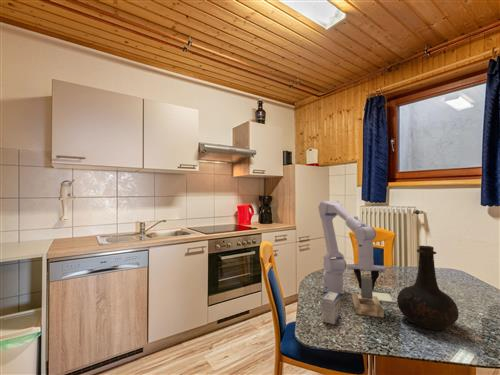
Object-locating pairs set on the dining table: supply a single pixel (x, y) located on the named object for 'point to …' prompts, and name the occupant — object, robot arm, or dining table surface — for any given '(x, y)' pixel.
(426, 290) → the glass bottle
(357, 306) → the rail plate
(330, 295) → the medicine box
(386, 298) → the pad
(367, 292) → the square peg
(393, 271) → the dining table surface
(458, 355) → the dining table surface
